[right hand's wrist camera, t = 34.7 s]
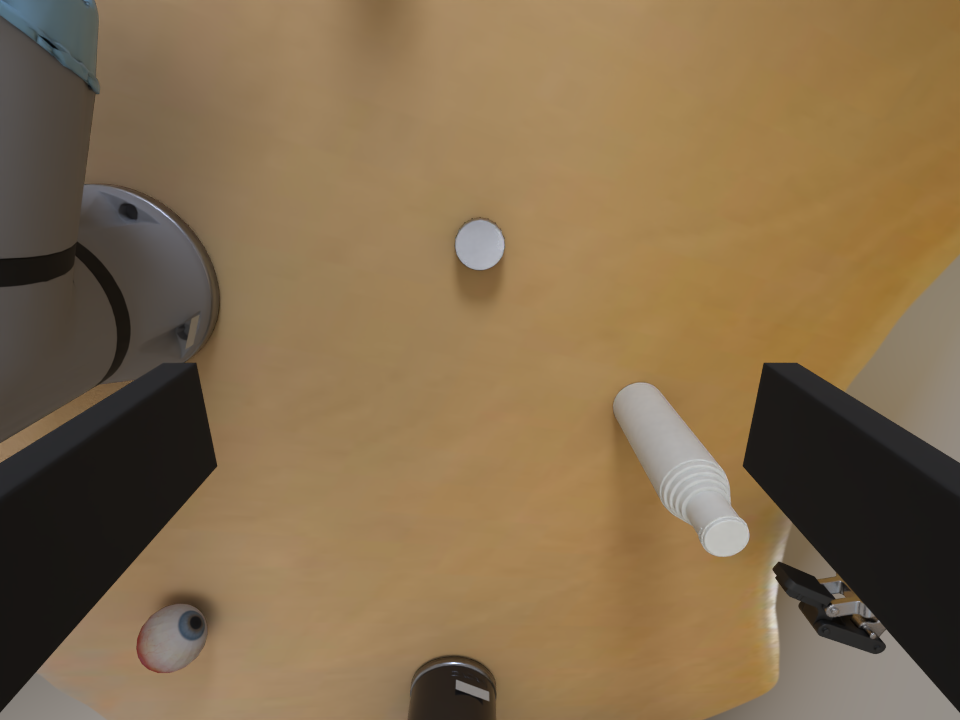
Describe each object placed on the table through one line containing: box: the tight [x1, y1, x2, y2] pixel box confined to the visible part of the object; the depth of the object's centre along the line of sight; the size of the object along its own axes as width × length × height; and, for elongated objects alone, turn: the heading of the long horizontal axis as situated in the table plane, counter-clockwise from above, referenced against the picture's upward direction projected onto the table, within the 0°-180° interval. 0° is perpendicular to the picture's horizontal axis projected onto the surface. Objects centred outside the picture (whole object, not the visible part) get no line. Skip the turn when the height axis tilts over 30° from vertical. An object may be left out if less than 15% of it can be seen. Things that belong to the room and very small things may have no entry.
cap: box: [455, 217, 505, 270], centre depth 40 cm, size 4×4×2 cm
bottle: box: [613, 382, 749, 557], centre depth 37 cm, size 4×4×18 cm
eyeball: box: [136, 604, 208, 673], centre depth 51 cm, size 6×6×6 cm
